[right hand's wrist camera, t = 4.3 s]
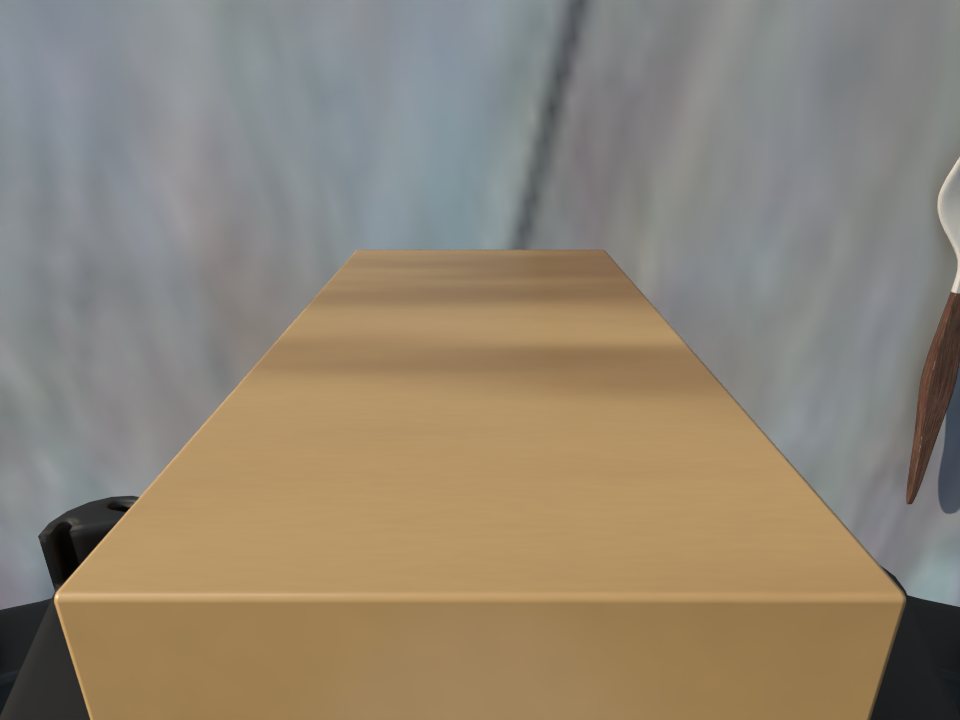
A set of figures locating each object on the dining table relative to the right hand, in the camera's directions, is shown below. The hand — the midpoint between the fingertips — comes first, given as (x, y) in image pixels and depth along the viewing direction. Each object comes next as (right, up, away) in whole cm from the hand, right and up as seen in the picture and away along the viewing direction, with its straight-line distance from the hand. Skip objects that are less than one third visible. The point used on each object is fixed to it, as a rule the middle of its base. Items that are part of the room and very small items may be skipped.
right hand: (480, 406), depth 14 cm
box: (0, -9, +6) cm, 10 cm away
